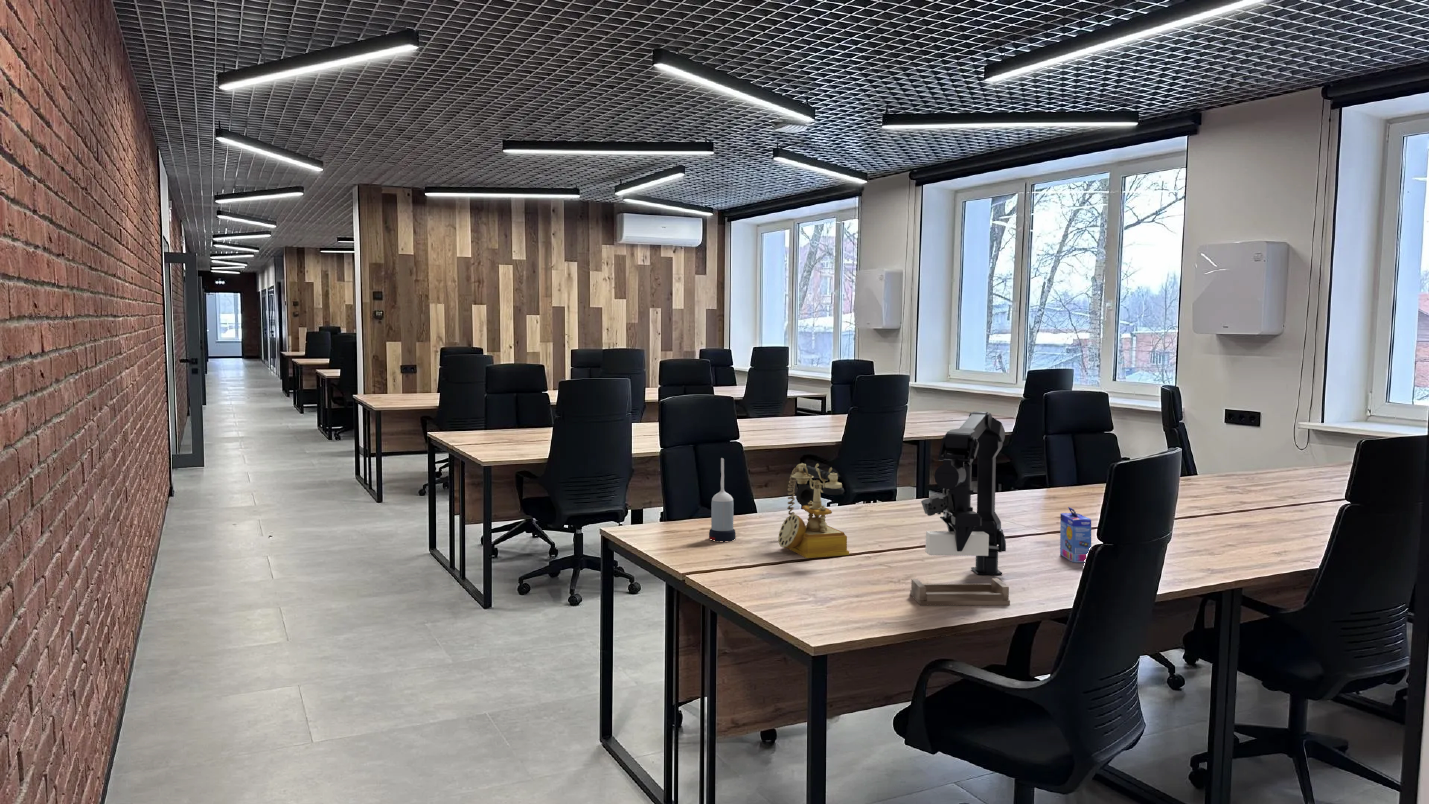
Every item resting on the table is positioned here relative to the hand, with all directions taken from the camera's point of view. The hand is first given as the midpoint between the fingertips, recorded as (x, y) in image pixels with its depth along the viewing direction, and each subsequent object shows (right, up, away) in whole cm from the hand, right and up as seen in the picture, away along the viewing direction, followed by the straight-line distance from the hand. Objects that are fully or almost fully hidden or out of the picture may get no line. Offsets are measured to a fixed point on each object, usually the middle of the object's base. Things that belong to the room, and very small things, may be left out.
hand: (956, 549), depth 231 cm
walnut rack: (0, -12, -1) cm, 12 cm away
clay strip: (0, -1, 0) cm, 1 cm away
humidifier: (-55, -7, +65) cm, 86 cm away
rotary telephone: (-32, -8, +54) cm, 63 cm away
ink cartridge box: (+44, -9, +41) cm, 61 cm away
